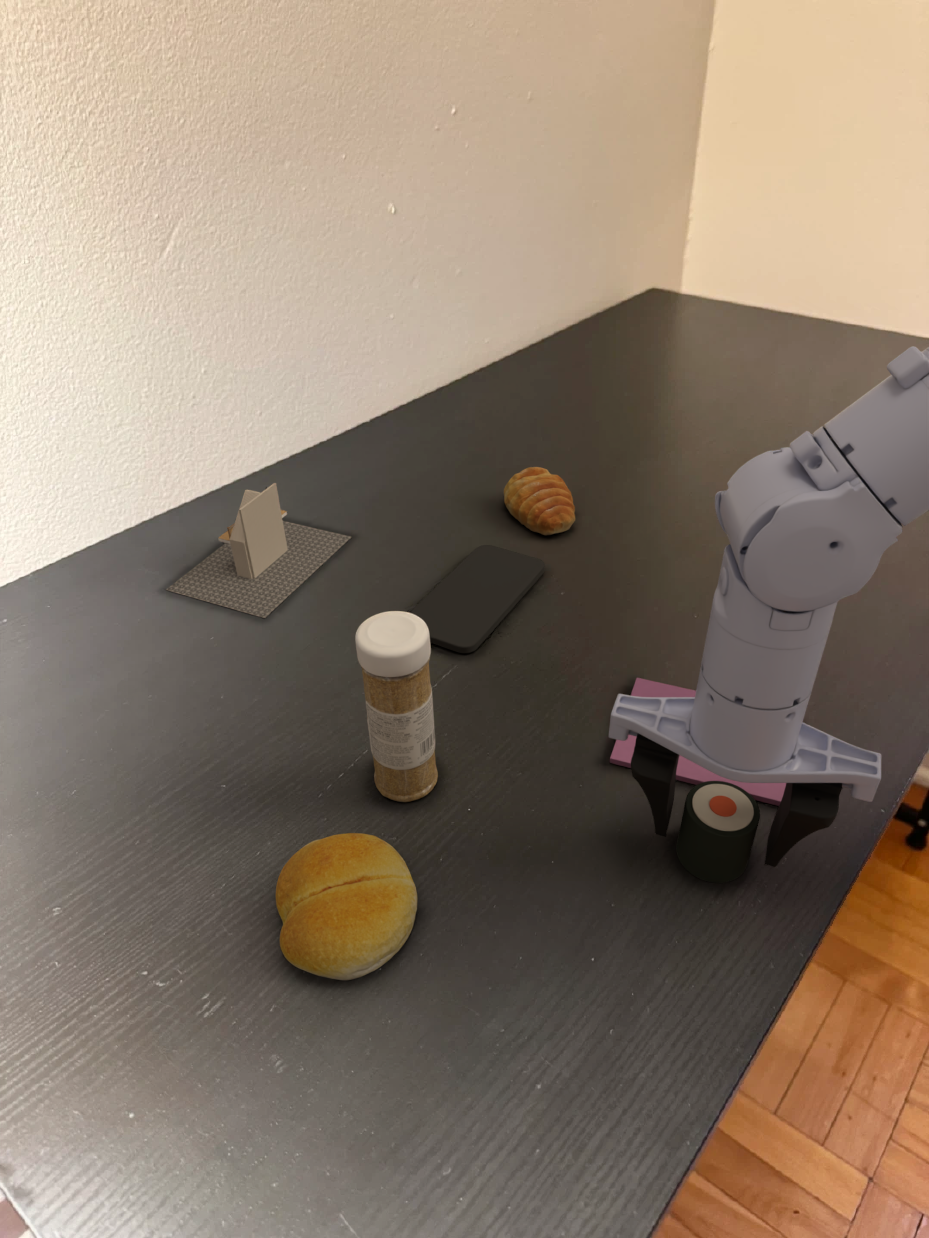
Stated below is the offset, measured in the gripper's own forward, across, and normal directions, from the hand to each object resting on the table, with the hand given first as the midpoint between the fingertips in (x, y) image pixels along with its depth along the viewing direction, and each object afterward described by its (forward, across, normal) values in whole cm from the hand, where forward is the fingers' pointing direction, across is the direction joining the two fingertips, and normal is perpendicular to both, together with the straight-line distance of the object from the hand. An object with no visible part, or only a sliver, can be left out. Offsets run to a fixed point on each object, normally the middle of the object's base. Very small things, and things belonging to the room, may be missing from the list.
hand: (716, 838), depth 53 cm
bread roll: (+2, +20, +12) cm, 23 cm away
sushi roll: (+2, 0, 0) cm, 2 cm away
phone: (+2, +24, -21) cm, 32 cm away
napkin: (+2, +2, -10) cm, 10 cm away
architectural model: (+2, +46, -20) cm, 50 cm away
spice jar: (+2, +21, +1) cm, 21 cm away
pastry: (+2, +23, -38) cm, 44 cm away
